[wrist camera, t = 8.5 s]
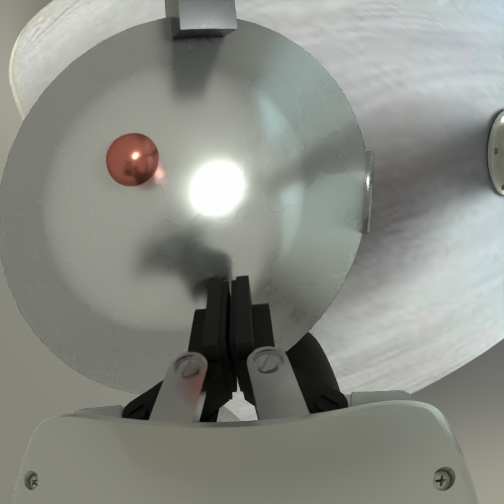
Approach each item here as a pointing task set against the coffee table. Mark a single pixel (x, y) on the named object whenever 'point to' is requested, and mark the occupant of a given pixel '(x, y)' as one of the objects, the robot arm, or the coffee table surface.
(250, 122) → the lid
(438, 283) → the coffee table surface
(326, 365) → the mug
